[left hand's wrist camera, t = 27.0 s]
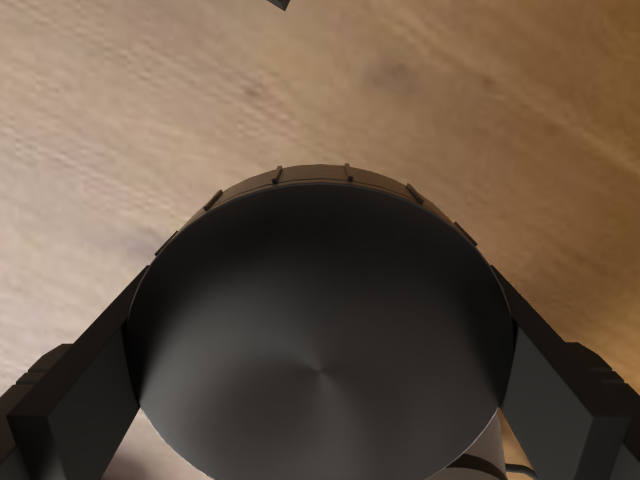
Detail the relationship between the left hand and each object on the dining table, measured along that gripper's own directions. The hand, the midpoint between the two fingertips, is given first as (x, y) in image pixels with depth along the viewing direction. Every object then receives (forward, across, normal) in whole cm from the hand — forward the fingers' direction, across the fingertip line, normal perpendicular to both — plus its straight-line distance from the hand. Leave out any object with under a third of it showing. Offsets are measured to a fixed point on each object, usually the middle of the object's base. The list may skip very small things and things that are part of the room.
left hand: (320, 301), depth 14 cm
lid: (-3, 0, 0) cm, 3 cm away
